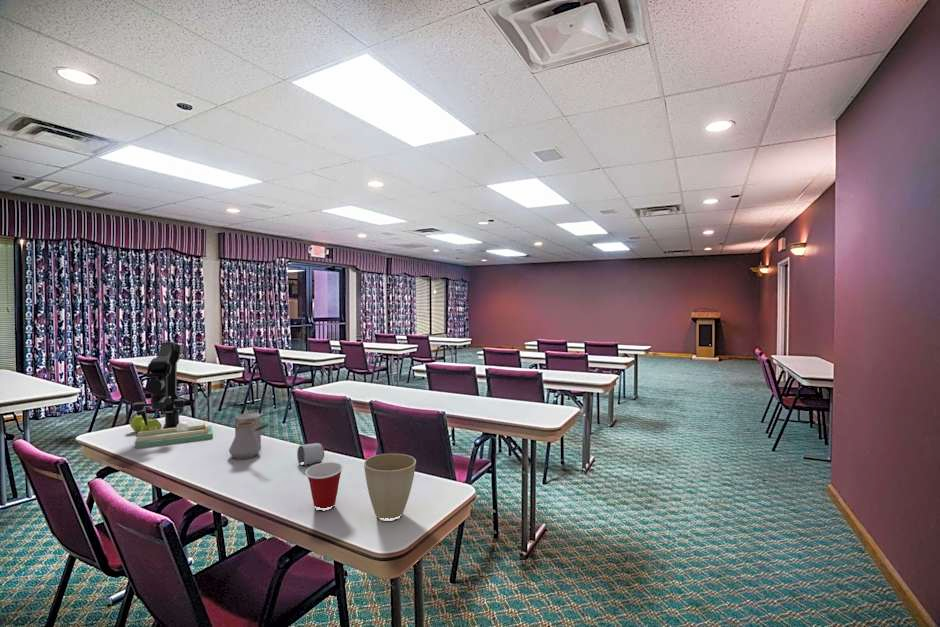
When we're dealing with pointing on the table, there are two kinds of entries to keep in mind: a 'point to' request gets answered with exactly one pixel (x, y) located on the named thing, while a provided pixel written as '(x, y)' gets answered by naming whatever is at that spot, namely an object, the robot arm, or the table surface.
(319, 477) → the plastic cup
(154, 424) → the dumbbell
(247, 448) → the coffee pot
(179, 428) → the golf ball
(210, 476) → the table surface
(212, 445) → the table surface
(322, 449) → the ceramic mug
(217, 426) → the table surface
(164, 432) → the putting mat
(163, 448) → the table surface
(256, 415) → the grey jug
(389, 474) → the plant pot
